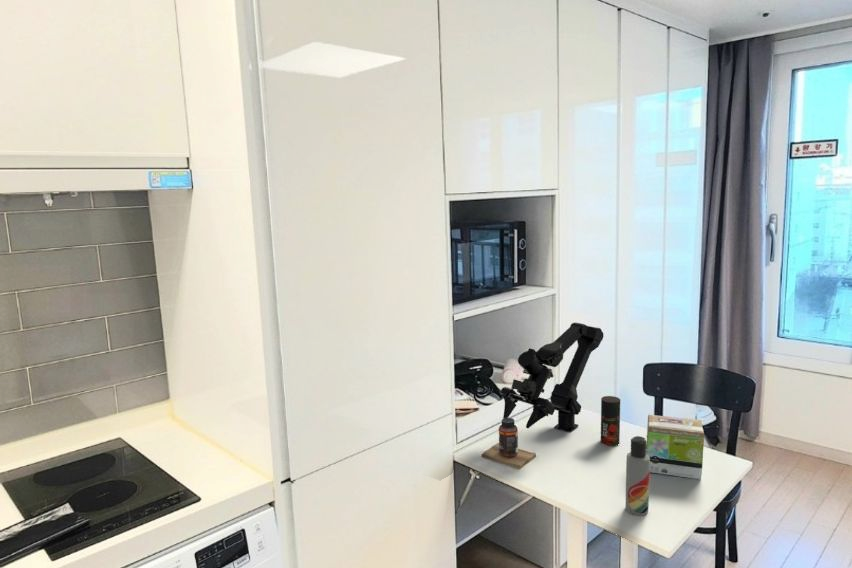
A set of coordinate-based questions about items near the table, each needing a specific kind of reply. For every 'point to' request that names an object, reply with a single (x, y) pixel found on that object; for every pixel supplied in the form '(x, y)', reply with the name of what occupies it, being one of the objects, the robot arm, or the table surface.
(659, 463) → the tea box
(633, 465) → the lotion bottle
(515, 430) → the supplement bottle
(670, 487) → the table surface
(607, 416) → the deodorant
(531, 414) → the robot arm
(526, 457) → the walnut board
